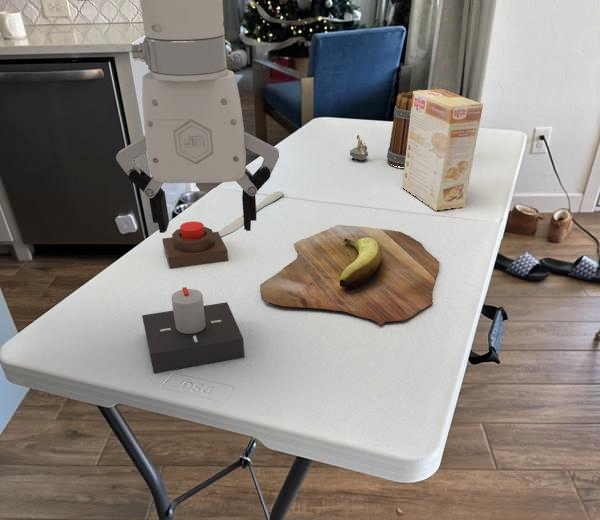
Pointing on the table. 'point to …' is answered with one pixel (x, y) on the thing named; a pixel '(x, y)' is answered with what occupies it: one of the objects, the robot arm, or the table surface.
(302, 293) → the cutting board
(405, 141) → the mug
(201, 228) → the power button
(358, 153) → the figurine
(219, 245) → the block
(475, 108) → the coffeecake box
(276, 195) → the butter knife
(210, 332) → the dial panel
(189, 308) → the dial
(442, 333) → the table surface
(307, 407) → the table surface
